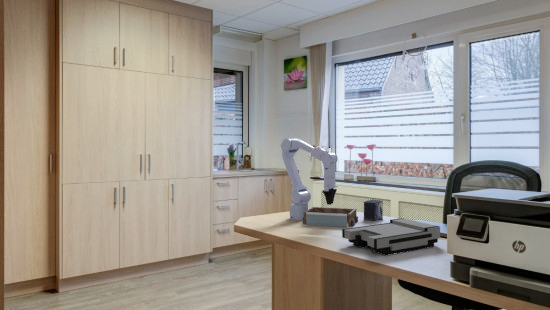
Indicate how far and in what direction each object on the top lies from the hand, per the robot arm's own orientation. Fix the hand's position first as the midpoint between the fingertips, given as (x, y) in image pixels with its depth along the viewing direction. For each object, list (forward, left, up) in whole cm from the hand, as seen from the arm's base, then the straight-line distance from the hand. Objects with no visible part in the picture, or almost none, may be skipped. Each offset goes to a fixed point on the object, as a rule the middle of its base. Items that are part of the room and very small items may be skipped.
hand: (330, 203), depth 213 cm
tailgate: (0, -7, -9) cm, 12 cm away
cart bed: (0, +1, -10) cm, 10 cm away
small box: (+19, +16, -11) cm, 27 cm away
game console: (+33, -34, -11) cm, 49 cm away
